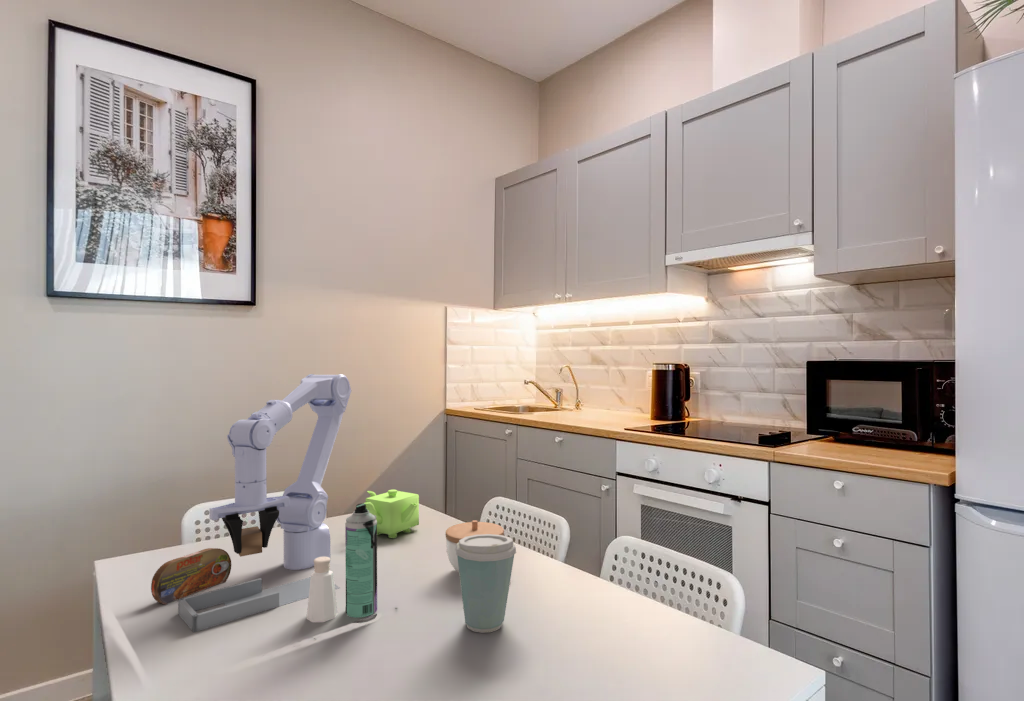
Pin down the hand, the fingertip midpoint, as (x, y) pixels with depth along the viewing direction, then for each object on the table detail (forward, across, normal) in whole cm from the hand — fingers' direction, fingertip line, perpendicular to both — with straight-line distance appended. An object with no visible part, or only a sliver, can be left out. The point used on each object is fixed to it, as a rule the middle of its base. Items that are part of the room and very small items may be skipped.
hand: (251, 549), depth 113 cm
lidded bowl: (+9, -39, +22) cm, 46 cm away
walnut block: (+1, 0, -2) cm, 2 cm away
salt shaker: (+9, -5, +21) cm, 23 cm away
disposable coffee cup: (+9, -25, +42) cm, 50 cm away
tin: (+9, +9, -7) cm, 14 cm away
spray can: (+9, -11, +24) cm, 28 cm away
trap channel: (+9, +1, +7) cm, 11 cm away
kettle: (+9, -41, -16) cm, 45 cm away
